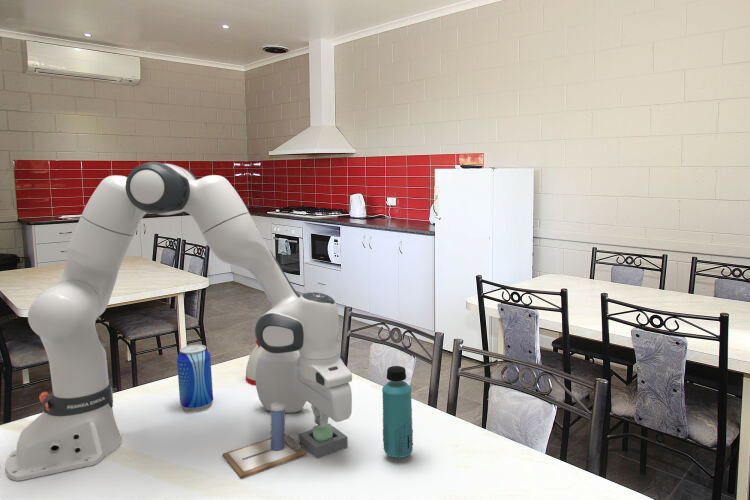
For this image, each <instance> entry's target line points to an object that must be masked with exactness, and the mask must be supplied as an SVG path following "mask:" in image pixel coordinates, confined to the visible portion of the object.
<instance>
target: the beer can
mask: <svg viewBox="0 0 750 500" xmlns="http://www.w3.org/2000/svg"><path fill="white" fill-rule="evenodd" d="M211 360H212V359H211V353H210V351H208V350H207V346H206V345H204V344H191V345H185V346H183V347H181V348H180V349H179V354H178V356H177V358H176V365H177V366H176V367H177V381H178V391H179V392H178V393H179V403H180V404H179V405H180V407H182V408H183V410H184V411H186V412H199V411H200V412H201V411H203V410H206V409H208V408H209V407H210V406H211V403H213V401H214V393H213V392H214V391H213V377H212V361H211Z"/></svg>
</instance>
